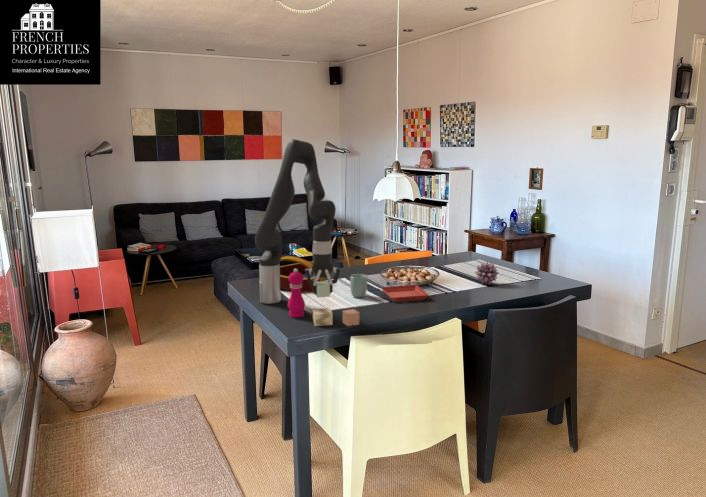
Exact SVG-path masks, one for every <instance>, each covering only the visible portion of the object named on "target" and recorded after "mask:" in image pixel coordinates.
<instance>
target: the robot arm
mask: <svg viewBox="0 0 706 497" xmlns="http://www.w3.org/2000/svg"><path fill="white" fill-rule="evenodd" d="M295 163H297V164H300V165H301V164H302V165H304V166H305V168H306V173H305V175H304V177H303V187H304V191H305V194H306V196H307V204H308V205H307V212H308V216H309V217H310V218H311V219H312V220H323V222H322V223H320V224H317V225H314V226H313V227H312V228H313V229H312V234H313V235H312V249H311V250H312V261H313V266H312V268H310V269H305V272H306V276H307V280H308V283H309V284H311V285H313V291H312V292H313V294H314V295H315V296H316V295H317V286H316V284H317V281H318V279H319V278H321V277H323V278H327V281H328V282H329V284H330V295H331V293H333V285H334V284H337V282H338V280H339V275H340V270H341V269H340V268H339V267H335V266H333V250H332V249H333V246H332V229H333V222H334V219H335V216H336V205H335V203H334V202H333V201H332V200H329V199H328V200H324V198H325V196H326V192H325V189H324V187H323V184H322V181H321V178H320V175H319V167H318V164H317V156H316V151H315V148H314V145H312V144H311V143H310V142H307V141H304V140H300V139H295V138H294V139H293V138H292V139H290V140H289V141H288V143H287V144H286V147H285V150H284V153H283V157H282V162H281V166H280V169H279V172H278V175H277V178H276V181H275V184H274V187H273V190H272V192H271V194H270V199H269V202H268V204H267V207H266V210H265V213H264V215H263V219H262V220H261V223H260V224H259V227H258V229H257V231H256V233H255V235H254V244H255V247H256V249H257V250H259V251H263V253H262V255H261V256H260V257H259V259H258V265H259V266H258V268H259V269H258V270H259V271H258V272H259V274H258V275H259V303H260V304H269V305H270V304H277V303H281V301H282V300H281V299H282V298H281V297H282V295H281V288H280V267H281V261H280V259H281V258H282V255H283V254H282V251H283V250H282V248H283V240H282V239H283V238H282V234H281V232H280V230H279V229H278V228H277V226H278V224H279V223H280V221H281V220H282V219H283V218H284V216H285V215H286V214H287V212H288V211H289V210H290V208H291V205H292V204H293V200H294V198H295V191H296V189H295V185H294V181H293V176H292V170H293V167H294V164H295ZM311 271H313V272H314V273H315V276H314V280H313V281H311V278H310V274H311ZM332 272H333V273H334V276H333V279H332V278H331V275H330V274H331V273H332Z"/></svg>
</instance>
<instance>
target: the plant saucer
mask: <svg viewBox="0 0 706 497" xmlns="http://www.w3.org/2000/svg"><path fill="white" fill-rule="evenodd" d="M380 289H381V290H382V291H383V293H384V294H385V295H386V296H387V297H388V298H389V299H390V300H391V301H392V302H393V303H399V302H401V303H402V302H413V301H414V302H415V301H417V302H418V301H424V300H425V299H427V298H428V296H430V294H428V292H426V291H424V290H423V289H422V288H421V287H419V286H418V285H417V284H408V285H396V286H395V285H394V286H382V287H380Z"/></svg>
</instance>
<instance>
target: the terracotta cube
mask: <svg viewBox="0 0 706 497" xmlns="http://www.w3.org/2000/svg"><path fill="white" fill-rule="evenodd" d="M342 323H343V324H344V325H345V326H347V327H352V325H353V326H357V325H358V326H359V325H360V311H357V310H356V309H354V308H353V309H352V308H350V309H345V310H342Z"/></svg>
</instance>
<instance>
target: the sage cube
mask: <svg viewBox="0 0 706 497" xmlns="http://www.w3.org/2000/svg"><path fill="white" fill-rule="evenodd" d="M316 286H317V295H315V296H316V298H329V297H331V294H330V284H329V282H328V280H327V281H325V280H324V282H317V284H316Z"/></svg>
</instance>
